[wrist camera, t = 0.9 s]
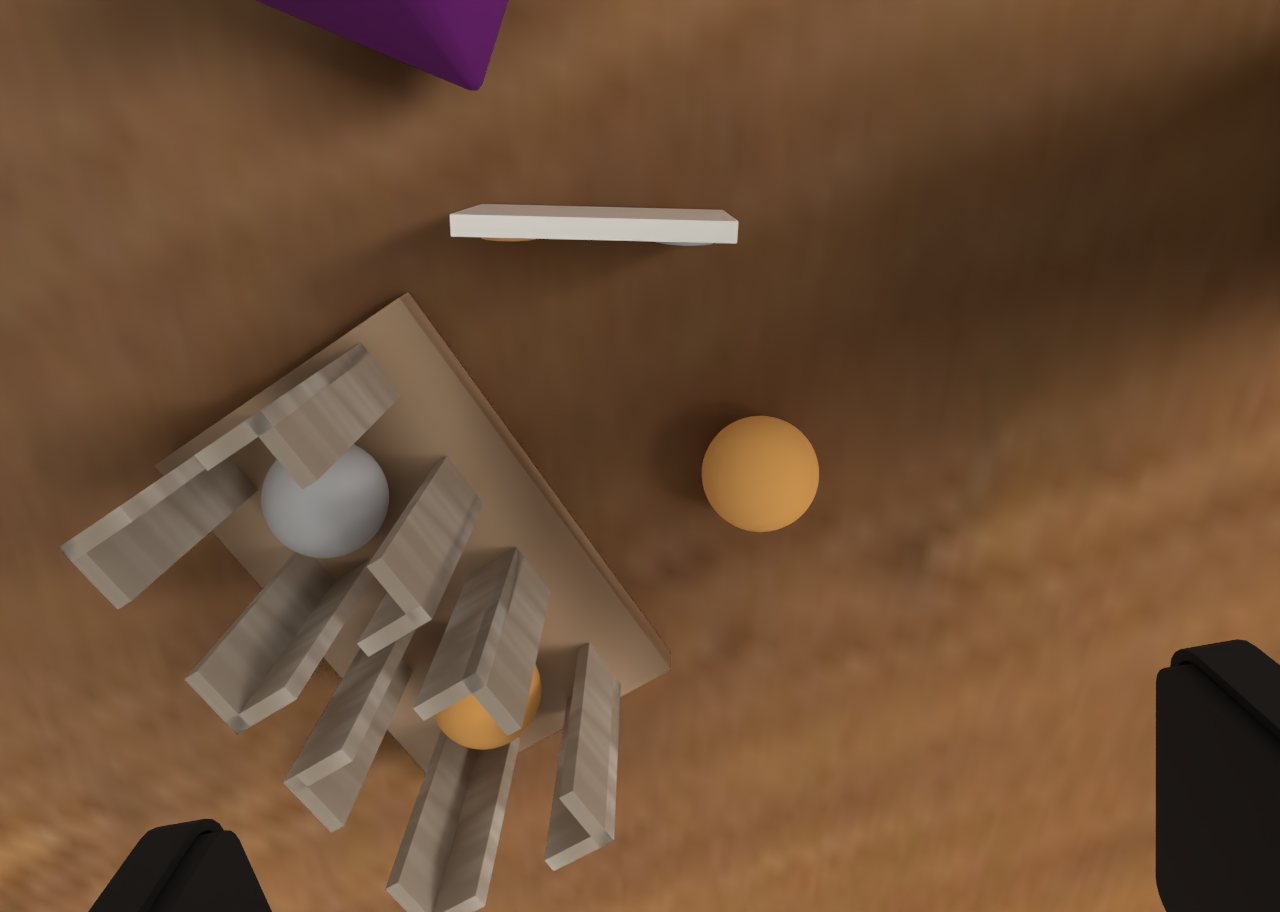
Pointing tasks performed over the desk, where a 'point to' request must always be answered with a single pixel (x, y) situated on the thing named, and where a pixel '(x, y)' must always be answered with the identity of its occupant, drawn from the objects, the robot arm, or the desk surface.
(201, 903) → the robot arm
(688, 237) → the card
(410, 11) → the purple potion bottle
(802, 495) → the orange ball
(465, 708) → the seated orange ball
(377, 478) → the grey ball
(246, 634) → the ball rack
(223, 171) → the desk surface
